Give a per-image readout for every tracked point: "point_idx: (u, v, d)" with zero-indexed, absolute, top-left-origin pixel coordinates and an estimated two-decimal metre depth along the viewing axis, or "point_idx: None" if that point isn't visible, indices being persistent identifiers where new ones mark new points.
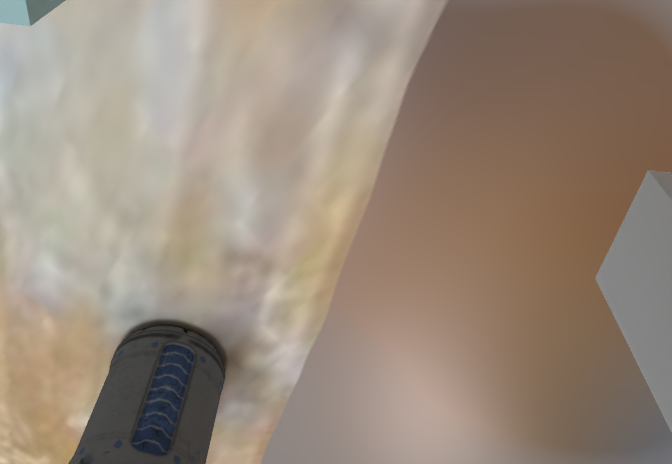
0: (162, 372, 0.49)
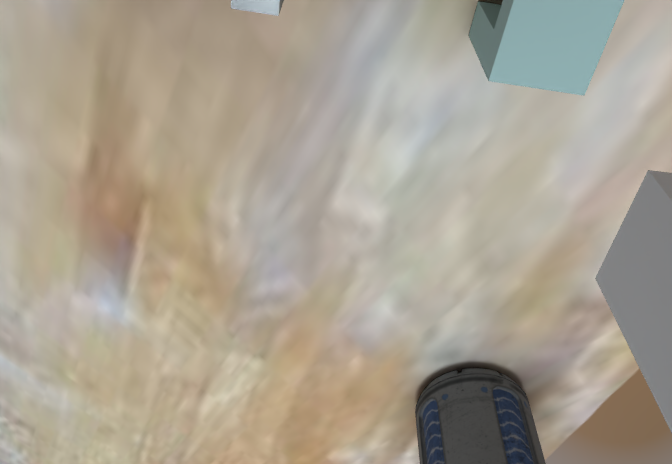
0: (503, 419, 0.48)
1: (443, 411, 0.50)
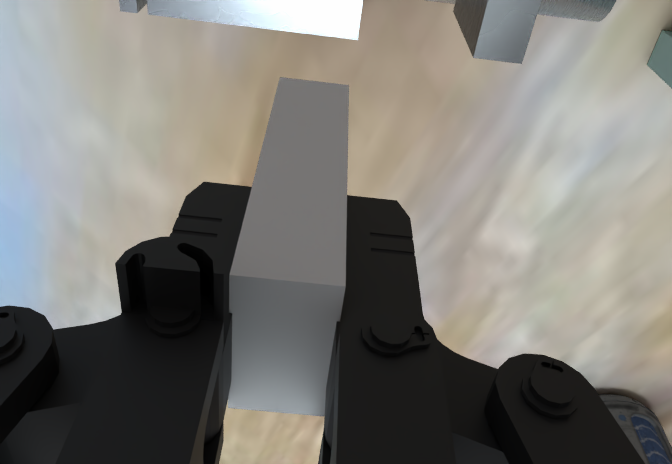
0: (647, 449, 0.47)
1: None
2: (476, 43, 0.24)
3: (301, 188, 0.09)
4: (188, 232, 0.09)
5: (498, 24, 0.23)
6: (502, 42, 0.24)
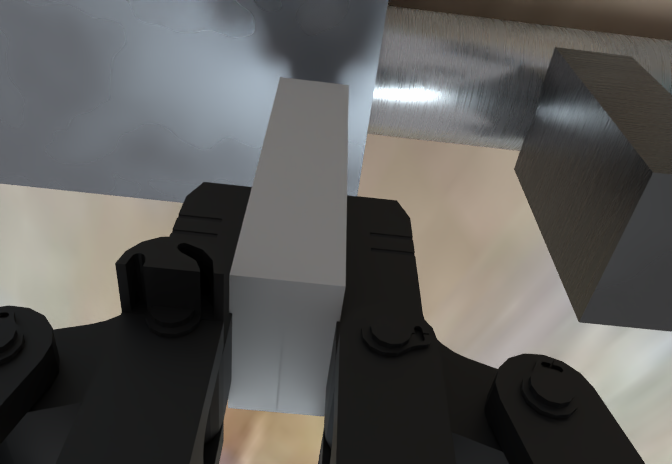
0: None
1: None
2: (587, 299, 0.12)
3: (301, 188, 0.09)
4: (188, 232, 0.09)
5: (636, 273, 0.12)
6: (640, 300, 0.12)
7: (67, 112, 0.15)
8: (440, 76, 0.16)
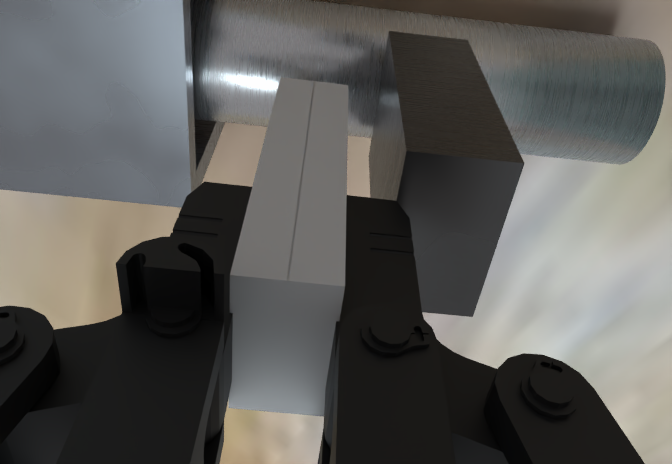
0: None
1: None
2: None
3: (301, 188, 0.09)
4: (188, 232, 0.09)
5: (419, 256, 0.11)
6: (431, 284, 0.12)
7: None
8: (277, 62, 0.15)
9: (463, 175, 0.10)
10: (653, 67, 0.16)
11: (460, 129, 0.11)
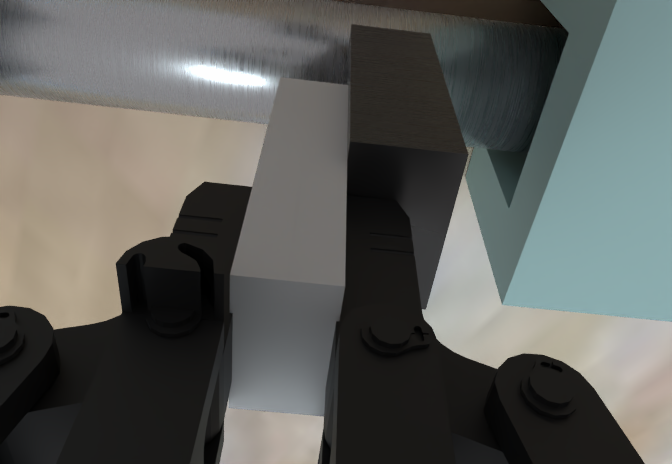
0: None
1: None
2: None
3: (301, 188, 0.09)
4: (188, 232, 0.09)
5: None
6: None
7: None
8: (240, 55, 0.15)
9: (407, 165, 0.10)
10: None
11: (408, 120, 0.11)
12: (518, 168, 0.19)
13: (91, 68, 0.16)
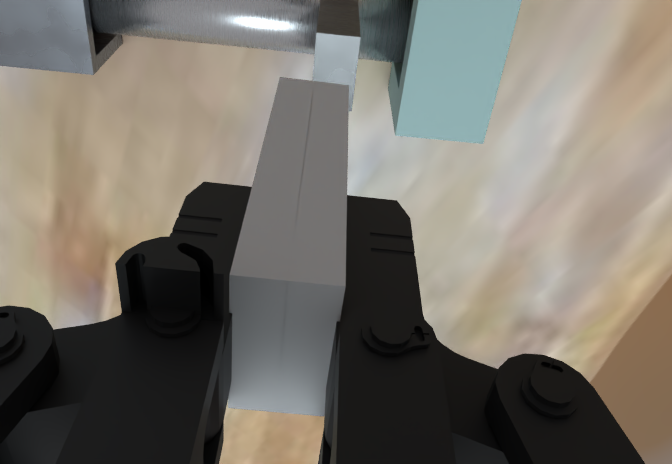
0: None
1: None
2: None
3: (301, 188, 0.09)
4: (188, 232, 0.09)
5: (326, 80, 0.28)
6: None
7: None
8: (269, 12, 0.32)
9: (338, 42, 0.27)
10: None
11: (340, 28, 0.28)
12: None
13: (197, 20, 0.33)
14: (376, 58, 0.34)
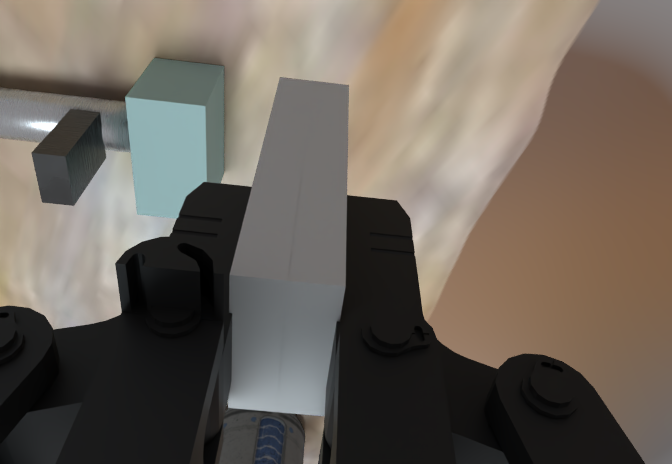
0: (262, 443, 0.61)
1: None
2: (41, 194, 0.38)
3: (301, 188, 0.09)
4: (188, 232, 0.09)
5: (48, 184, 0.37)
6: (56, 194, 0.38)
7: None
8: (32, 119, 0.42)
9: (50, 159, 0.36)
10: None
11: (56, 146, 0.37)
12: None
13: None
14: (127, 151, 0.44)
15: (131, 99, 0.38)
